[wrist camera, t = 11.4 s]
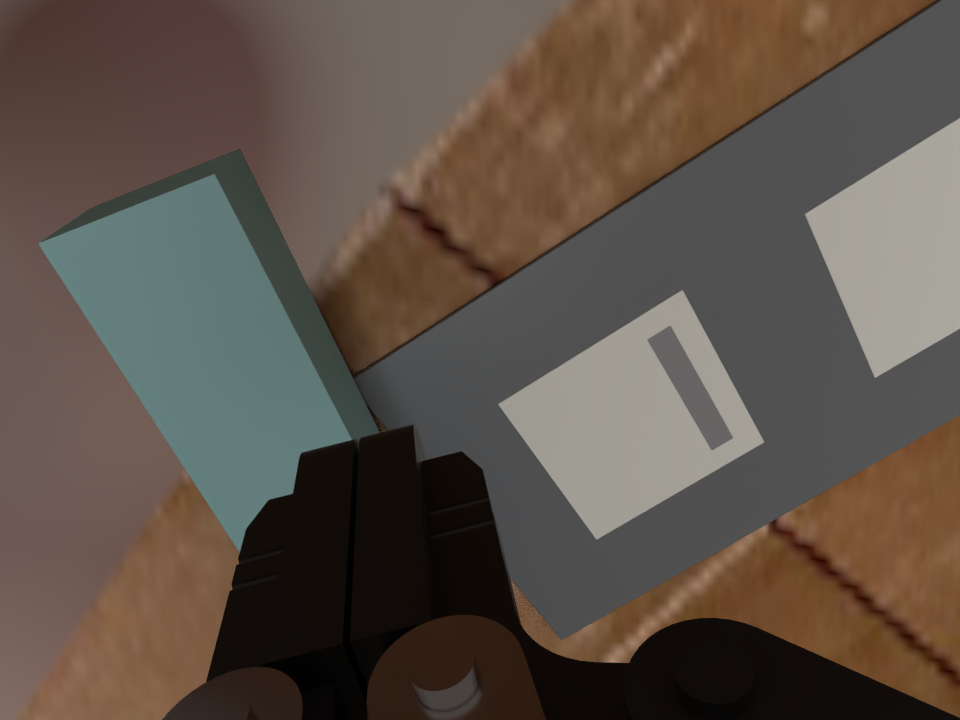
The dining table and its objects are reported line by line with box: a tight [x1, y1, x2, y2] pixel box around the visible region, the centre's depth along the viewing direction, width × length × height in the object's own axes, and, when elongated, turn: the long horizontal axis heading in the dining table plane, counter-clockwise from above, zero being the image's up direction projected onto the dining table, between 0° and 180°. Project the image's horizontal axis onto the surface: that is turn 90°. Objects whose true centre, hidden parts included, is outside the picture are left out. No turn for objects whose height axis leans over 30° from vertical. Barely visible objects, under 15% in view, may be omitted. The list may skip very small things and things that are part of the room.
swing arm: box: [39, 149, 380, 553], centre depth 26 cm, size 5×20×4 cm, turn 20°
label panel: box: [353, 0, 960, 640], centre depth 29 cm, size 16×28×1 cm, turn 122°
